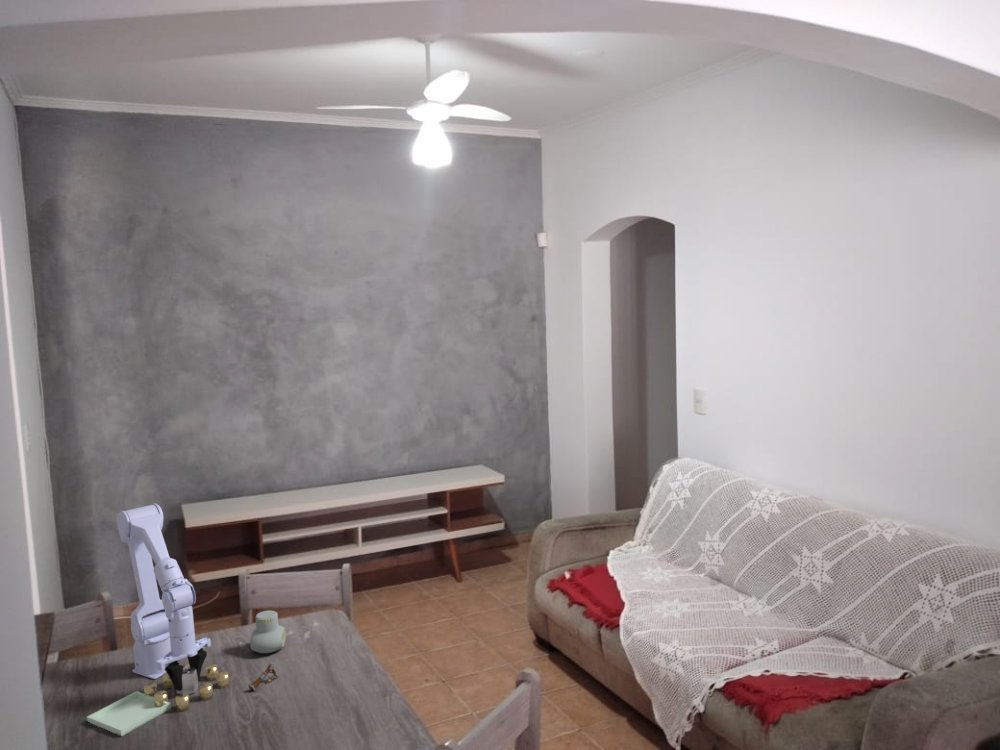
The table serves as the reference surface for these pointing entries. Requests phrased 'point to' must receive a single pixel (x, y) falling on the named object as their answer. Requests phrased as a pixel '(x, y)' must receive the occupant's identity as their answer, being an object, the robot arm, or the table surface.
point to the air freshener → (267, 633)
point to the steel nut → (189, 680)
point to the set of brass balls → (183, 699)
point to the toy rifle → (263, 675)
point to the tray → (128, 713)
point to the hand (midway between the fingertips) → (187, 684)
